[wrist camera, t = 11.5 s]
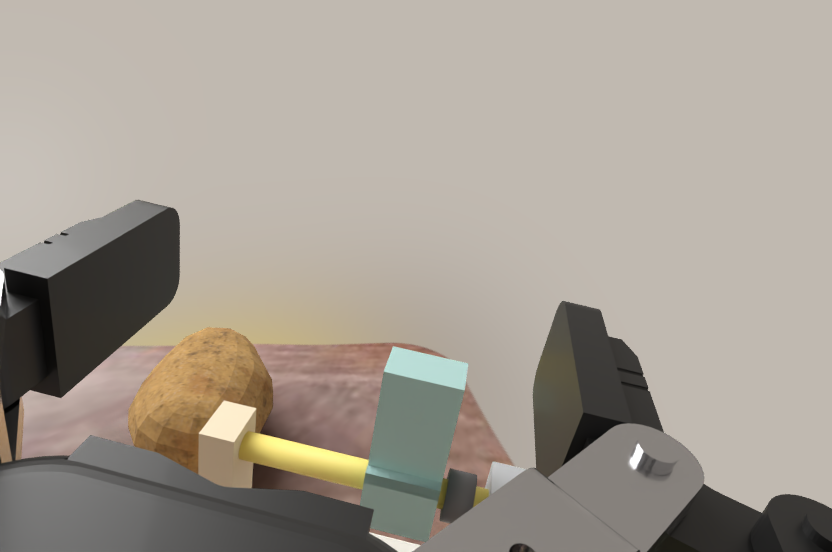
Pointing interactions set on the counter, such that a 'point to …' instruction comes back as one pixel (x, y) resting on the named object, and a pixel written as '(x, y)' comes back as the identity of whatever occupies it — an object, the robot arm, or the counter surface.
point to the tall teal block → (412, 441)
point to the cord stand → (318, 464)
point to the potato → (197, 392)
